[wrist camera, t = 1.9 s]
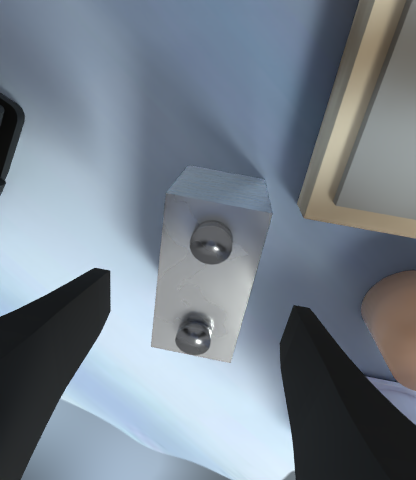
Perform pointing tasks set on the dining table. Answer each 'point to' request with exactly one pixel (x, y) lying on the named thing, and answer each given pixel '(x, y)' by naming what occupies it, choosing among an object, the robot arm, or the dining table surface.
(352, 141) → the birch plinth
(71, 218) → the dining table surface
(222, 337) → the alloy housing
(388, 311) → the peach rounded cylinder
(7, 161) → the end cap
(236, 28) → the dining table surface
